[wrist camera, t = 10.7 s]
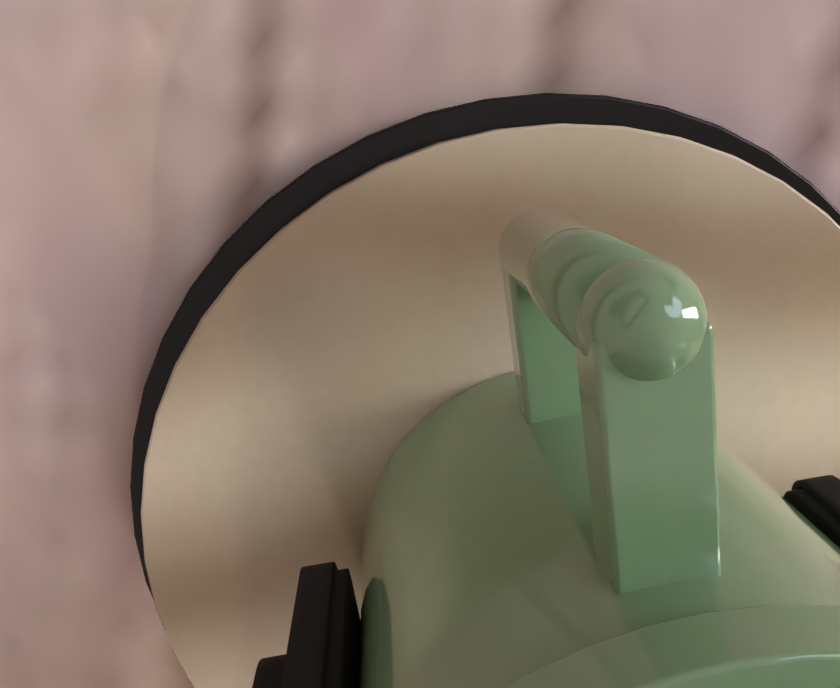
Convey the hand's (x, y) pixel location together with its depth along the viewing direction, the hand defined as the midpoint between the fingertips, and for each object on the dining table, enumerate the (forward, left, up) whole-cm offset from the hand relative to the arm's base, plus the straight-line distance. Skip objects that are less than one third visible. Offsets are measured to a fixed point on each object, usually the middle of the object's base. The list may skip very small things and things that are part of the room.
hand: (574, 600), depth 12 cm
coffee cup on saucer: (0, 0, -2) cm, 2 cm away
